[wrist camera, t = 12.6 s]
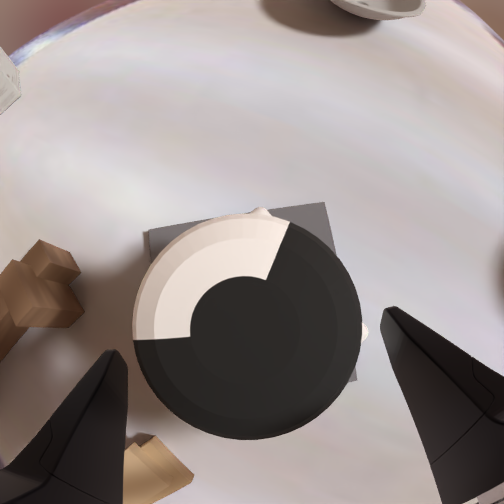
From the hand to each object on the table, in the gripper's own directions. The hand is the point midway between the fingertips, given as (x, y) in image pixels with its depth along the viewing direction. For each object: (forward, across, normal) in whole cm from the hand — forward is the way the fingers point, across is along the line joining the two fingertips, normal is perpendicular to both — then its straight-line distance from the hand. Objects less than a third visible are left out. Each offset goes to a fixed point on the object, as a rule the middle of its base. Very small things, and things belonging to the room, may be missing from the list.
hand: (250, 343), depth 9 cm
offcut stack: (-2, +13, +16) cm, 20 cm away
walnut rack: (+7, +20, +7) cm, 23 cm away
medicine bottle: (+7, 0, +6) cm, 9 cm away
